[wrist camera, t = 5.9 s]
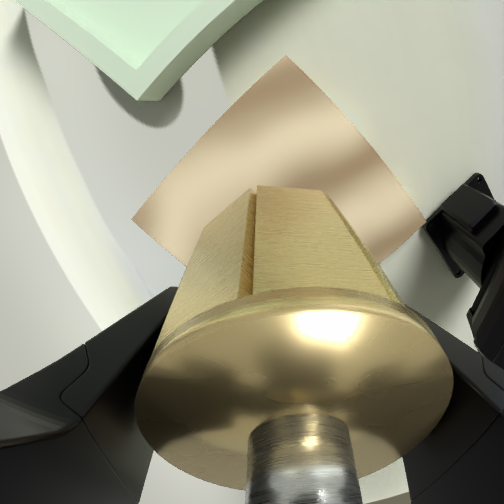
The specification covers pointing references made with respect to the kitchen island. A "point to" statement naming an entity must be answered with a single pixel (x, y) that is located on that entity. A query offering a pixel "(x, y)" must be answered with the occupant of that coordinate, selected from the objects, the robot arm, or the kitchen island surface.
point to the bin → (141, 36)
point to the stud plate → (281, 167)
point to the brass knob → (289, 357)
